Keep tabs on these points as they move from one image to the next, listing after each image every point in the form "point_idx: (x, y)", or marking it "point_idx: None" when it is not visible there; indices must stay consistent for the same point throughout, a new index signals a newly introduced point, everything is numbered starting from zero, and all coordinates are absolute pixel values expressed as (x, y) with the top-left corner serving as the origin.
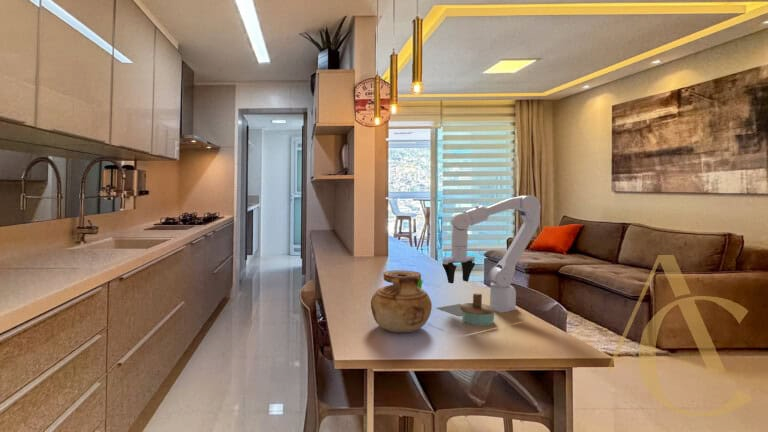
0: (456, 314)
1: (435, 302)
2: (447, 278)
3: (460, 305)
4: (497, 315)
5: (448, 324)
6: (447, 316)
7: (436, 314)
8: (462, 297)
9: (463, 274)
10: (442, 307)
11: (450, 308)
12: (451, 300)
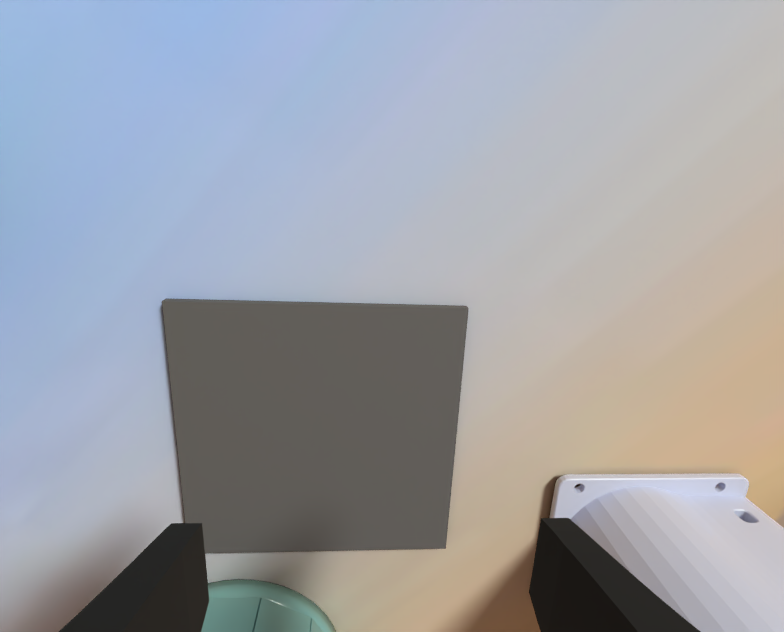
0: (203, 517)
1: (328, 103)
2: (116, 579)
3: (433, 352)
4: (476, 617)
5: (15, 616)
6: (126, 494)
7: (71, 419)
8: (737, 106)
9: (605, 620)
10: (233, 320)
11: (278, 379)
12: (538, 136)
